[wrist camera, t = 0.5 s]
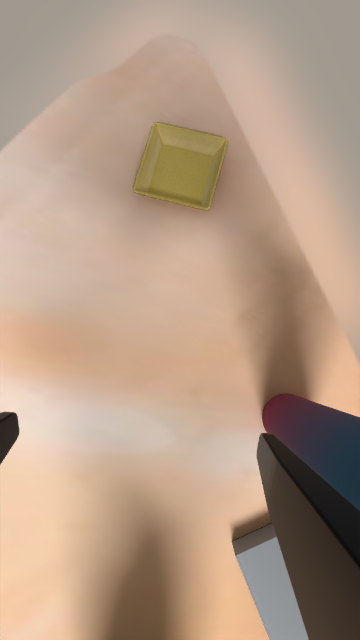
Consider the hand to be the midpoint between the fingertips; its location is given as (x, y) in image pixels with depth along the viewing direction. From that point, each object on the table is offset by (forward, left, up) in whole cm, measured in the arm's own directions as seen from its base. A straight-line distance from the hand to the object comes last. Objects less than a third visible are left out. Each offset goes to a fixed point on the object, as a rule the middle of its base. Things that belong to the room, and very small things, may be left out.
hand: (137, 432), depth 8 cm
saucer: (+19, +12, -16) cm, 28 cm away
